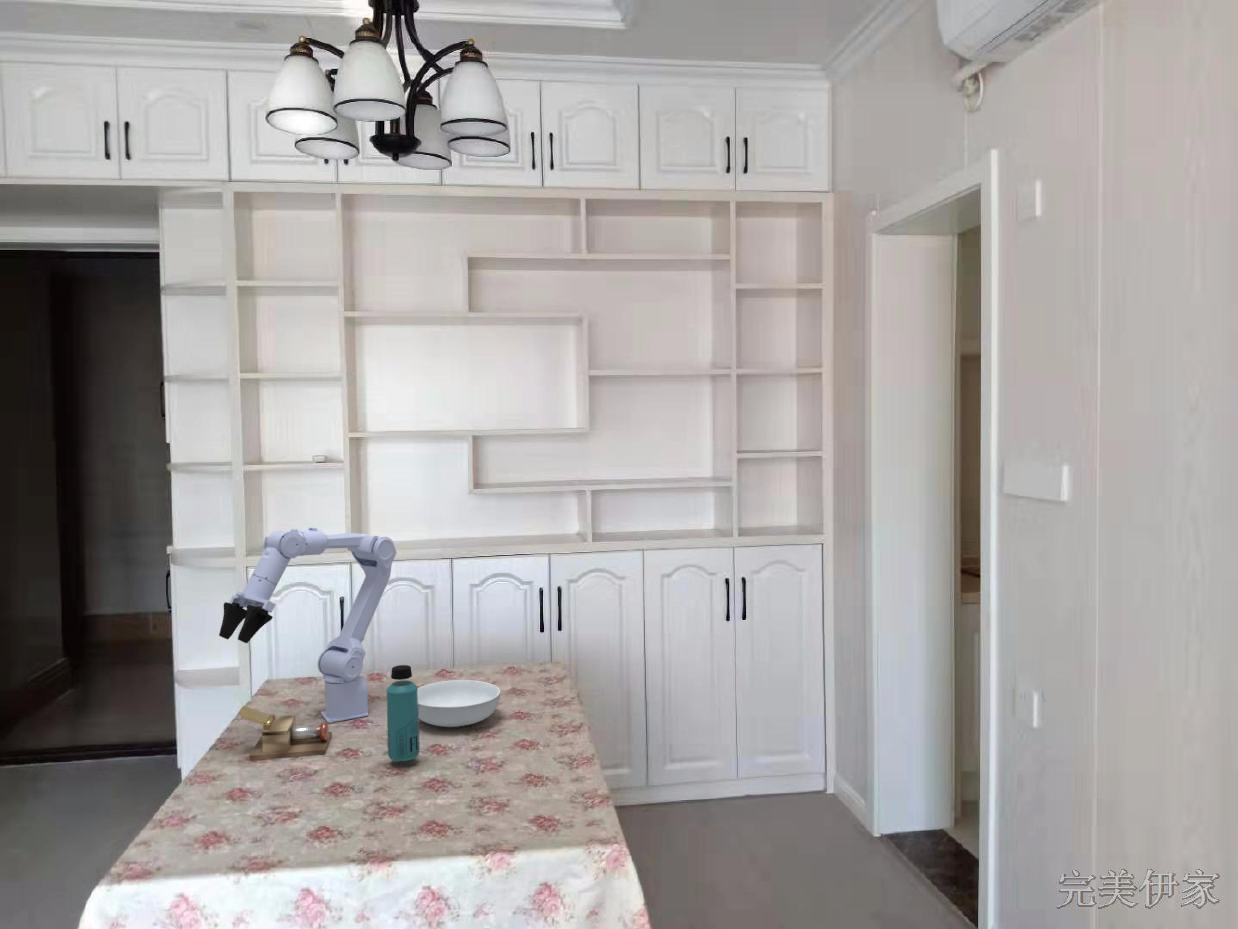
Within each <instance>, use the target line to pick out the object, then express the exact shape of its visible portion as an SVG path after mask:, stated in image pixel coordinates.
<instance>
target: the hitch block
mask: <svg viewBox="0 0 1238 929" xmlns="http://www.w3.org/2000/svg"><path fill="white" fill-rule="evenodd" d="M268 715H269V716H273V717H274V719H273V721H272V723H271V725H270V724H263V725H262V732H261V735H262V736H260V738H259V739H258V740H257V742H256V744H255V746H254V747H253V749H252V750H251V753H249V761H261V760H272V759H274V760H275V759H285V758H296V757H297V758H298V757H310V756H325V755H326V754H327V753H326V752H327V751H328V747H329V745H330V743H331V742H330V741H331V739H332V736H333V731H328V740H327V741H321V739H310V740H297V741H290V728H291V727H297V724H296V715H295V714H293V715H281V716H276V714H268Z"/></svg>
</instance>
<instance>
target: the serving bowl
mask: <svg viewBox="0 0 1238 929" xmlns="http://www.w3.org/2000/svg"><path fill="white" fill-rule="evenodd" d="M417 696H418V703H419V704H418V709H419V710H418V711H419V712H418V719H419V720H421V721H423V722H424V723H427V724H429V725H433V726H436V727H445V728H461V727H460V726H462V727H465V725H466V726H470V725H473V724H474V725H475V724H476V723H479V722H481V721H483V720H485V719H488V718H489V717H491V715H492V714H493V713H494V712H495V710H497V709H496V708H497V707H498V705H499V702H500V699H501V698H500V697H501V689H500V688H499V687H498V686H497V685H495V684H493V683H490V682H486V681H481V680H472V679H453V680H452V679H451V680H442V681H438V682H437V681H435V682H432V683H429V684H424V685H422V686H419V687H418V689H417Z"/></svg>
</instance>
